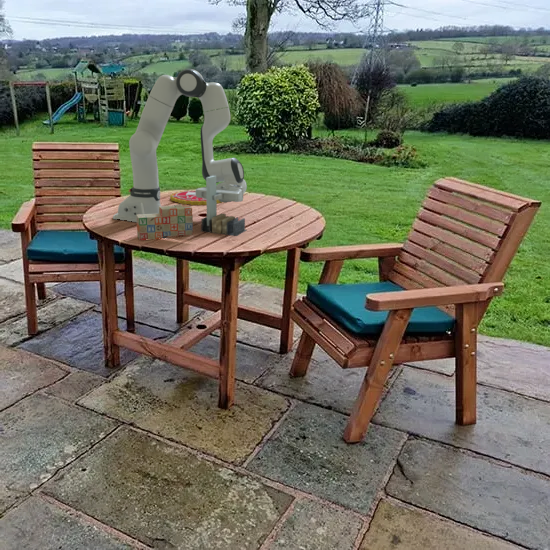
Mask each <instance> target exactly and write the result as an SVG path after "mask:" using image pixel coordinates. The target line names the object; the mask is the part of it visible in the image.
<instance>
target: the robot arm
mask: <svg viewBox="0 0 550 550" xmlns="http://www.w3.org/2000/svg"><path fill="white" fill-rule="evenodd" d="M182 95H183V96H185V97H189V98H198V99H199V100H200V102H201V105H202V106H201V107H202V111H203V114H204V117H203V118H204V119H203V120H204V121H203V124H202V125H201V126H200V146H201V147H200V149H201V162H202V165H201V174H202V175H201V176H202V177H203V180H205V181H206V178H207V177H210V176H216V195H213V196H212V200H219V201H220V202H223V203H224V204H226V203H231V202H233V203H234V202H235V203H238V202H243V200H244V194H245V192H246V191H247V188H248V186H247V182H246V180H245V171H244V170H245V169H244V165H243V164H242V163H241V161H240V160H238V159H237V158H236V157H229V158H224V159H218V160H217V159H216V160H215V159H214V146H213V141H214V138H215V137H216V136H217V135H218V134H219V133H221V132H222V131H224V130H226V128H228V126H229V124H230V122H231V119H232V118H231V112H230V111H231V110H230V106H229V103H228V98H227V95H226V92H225V90H224V88H223V86H222V84H220V83H218V82H213V81H211V82H206V81H205V79H204V76H203V75H202V74H201V73H200V71H198V70H196V69H194V68H193V69H192V68H186V69H182V70H181V71H180V72H179V73H178V74H177V76H176V77H175V76H174V77H173V76H172V75H169V74H163V75H160V76H159V77H158V78H157V80H156V81H155V83H154V85H153V86H152V89H151V90H150V93H149V95H148V97H147V100H146V102H145V105H144V108H143V110H142V111H141V115H140V119H139V122H138V125H137V128H136V130H135V133H133V134H131V136H130V138H129V141H128V146H129V154H130V161H131V167H132V169H131V170H132V181H133V182H132V183H133V186H132V187H131V188H129V189H128V193H130V195H129V196H127V198H125V199H124V200H122V201H121V202H120V203H119V205H118V208H117V213H115V214H114V215H113V216H112V219H113V220H117V219H120V220H119V221H124V220H127V221H126V222H131V221H132V222H131V223H137V217H136V215H138V214H158V213H159V206H162V204H161V187H160V186H159V185H160V183H159V182H160V181H159V180H160V179H159V168H158V158H157V149H158V148H159V147H158V146H159V144H160V142H161V139H162V136H163V134H164V131H165V129H166V126H167V124H168V123H169V119H170V116H171V113H172V112H173V110H174V107H175V106H176V105H175V104H176V102H177V100H178V99H179V98H180V96H182ZM195 191H196V197H197V198H206V186H204V187H198V188H195ZM206 199H207V198H206ZM223 203H222V204H223Z"/></svg>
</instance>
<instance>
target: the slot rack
mask: <svg viewBox="0 0 550 550" xmlns="http://www.w3.org/2000/svg"><path fill="white" fill-rule="evenodd" d="M200 221H201V223H200V224H201V225H200V227H201V228H200V232H204V233H209V234H210V233H211V234H218V235H223V236H224V235H225V236H231V237H238V236H240V235H241V234H243V233H245V232H247V231H248V229H246V227H245V226H246V218H241V219H240V220H239V217H238V216H237V217H235V219H233V220H231V221H229V222H227V234H225V233H221V234H220V233H215V232H212V219H211V220H209V226H207V216H206V217H202V218H201V219H200Z"/></svg>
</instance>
